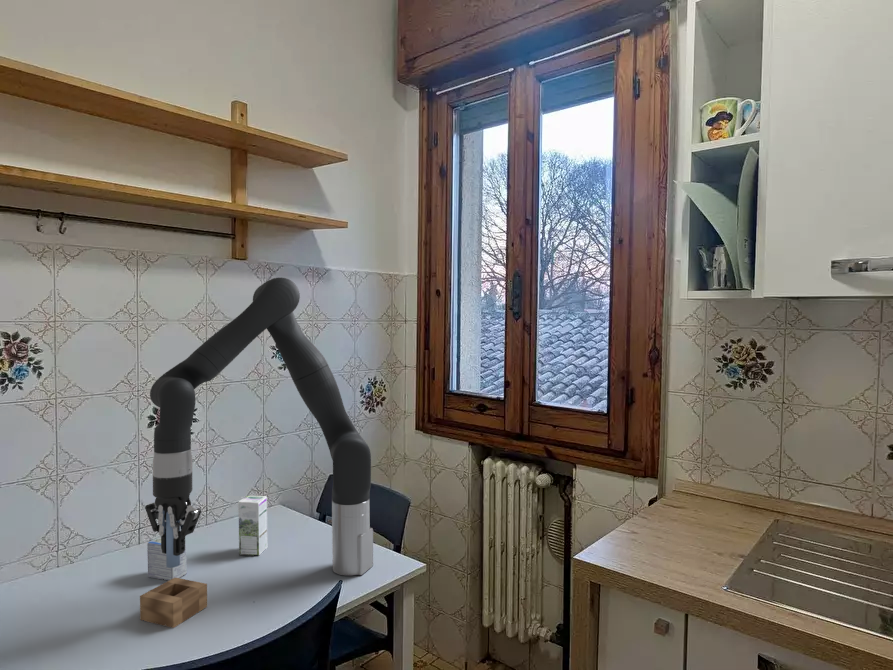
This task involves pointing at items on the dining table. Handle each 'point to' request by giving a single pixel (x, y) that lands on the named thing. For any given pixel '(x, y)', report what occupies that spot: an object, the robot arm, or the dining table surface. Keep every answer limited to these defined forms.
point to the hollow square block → (173, 602)
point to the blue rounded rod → (170, 545)
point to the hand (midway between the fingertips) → (173, 552)
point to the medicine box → (163, 562)
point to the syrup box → (252, 525)
